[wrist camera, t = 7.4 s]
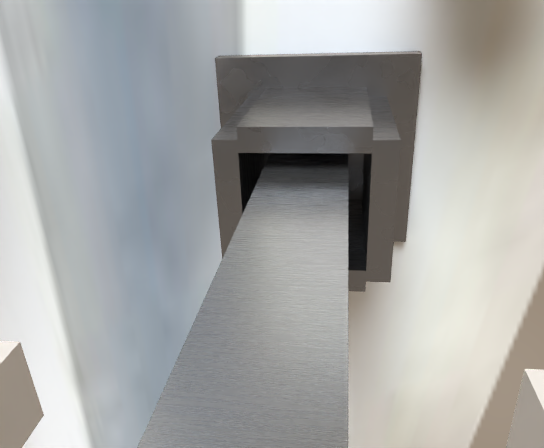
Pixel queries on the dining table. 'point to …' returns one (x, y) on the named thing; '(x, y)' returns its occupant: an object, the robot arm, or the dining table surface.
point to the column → (270, 323)
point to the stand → (323, 138)
